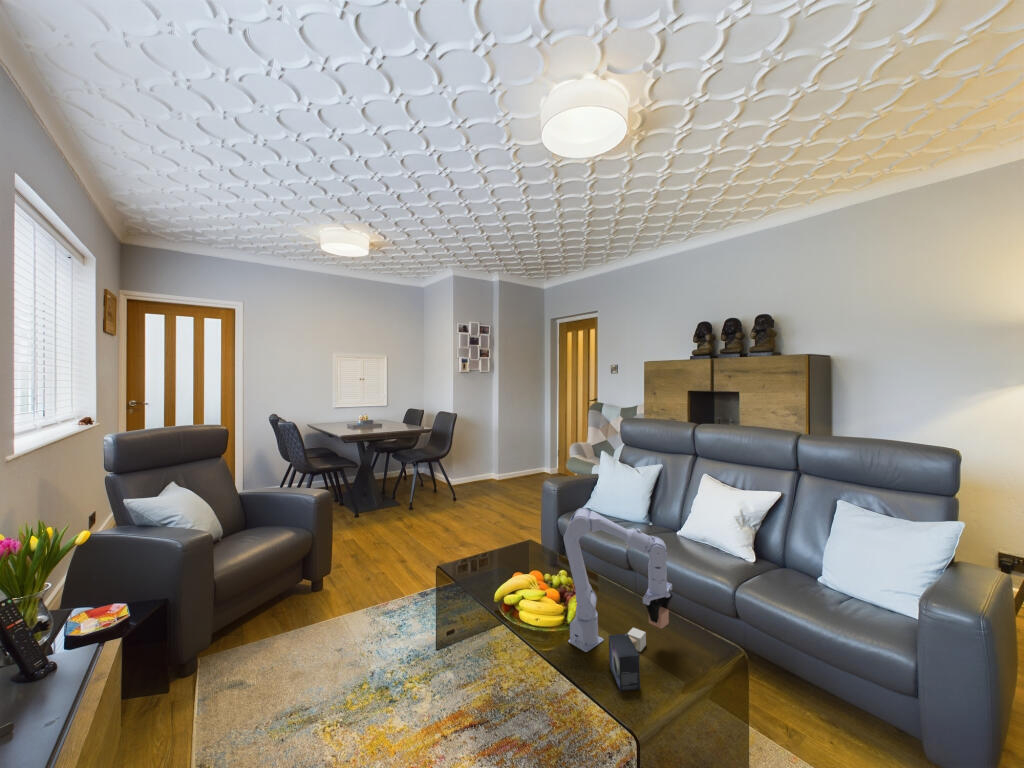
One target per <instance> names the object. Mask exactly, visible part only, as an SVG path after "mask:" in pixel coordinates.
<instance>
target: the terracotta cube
mask: <svg viewBox="0 0 1024 768" xmlns="http://www.w3.org/2000/svg"><path fill="white" fill-rule="evenodd" d="M669 610H670V609H669V608H668V609H666V608H663V607H661V606H660V609H659V615H658V622H657V623H655V622H653V621H651V619H650V616H649V615H648V624H650V625H652V626H653V627H657V628H659V629H660V630H661V629H663V628H664V627H666V626H667V625H669V623H670V620H669V619H670V618H669V612H670V611H669Z"/></svg>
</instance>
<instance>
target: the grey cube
mask: <svg viewBox="0 0 1024 768" xmlns="http://www.w3.org/2000/svg"><path fill="white" fill-rule="evenodd" d="M626 634H628V635H629V636H630V637H632V638H633V639H635V640H636V641H637V651H638V653H639V652H640V653H641V652H642V651H643V650H644V649H645V647H646V645H647V637H646V636H647V634H646V631H643V630H641V629H638V628H636V627H632V628H631V629H630V630H628V632H627V633H626Z"/></svg>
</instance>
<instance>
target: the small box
mask: <svg viewBox="0 0 1024 768" xmlns="http://www.w3.org/2000/svg"><path fill="white" fill-rule="evenodd" d="M608 654H609V655H608V656H609V669H610V672H611V674H612V676H613V678H614V680H615V682H616V685H617V687H618V689H619V692H629V691H631V692H632V691H639V690H640V691H641V688H642V687H641V674H640V673H641V671H640V670H641V669H640V657H641V655H640V653H639V651H637V650H636V648H635V646H634V644H633V642H632V641H631V639H630V637H629V635H628V634H627V633H619V634H617V633H616V634H609V635H608Z"/></svg>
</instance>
